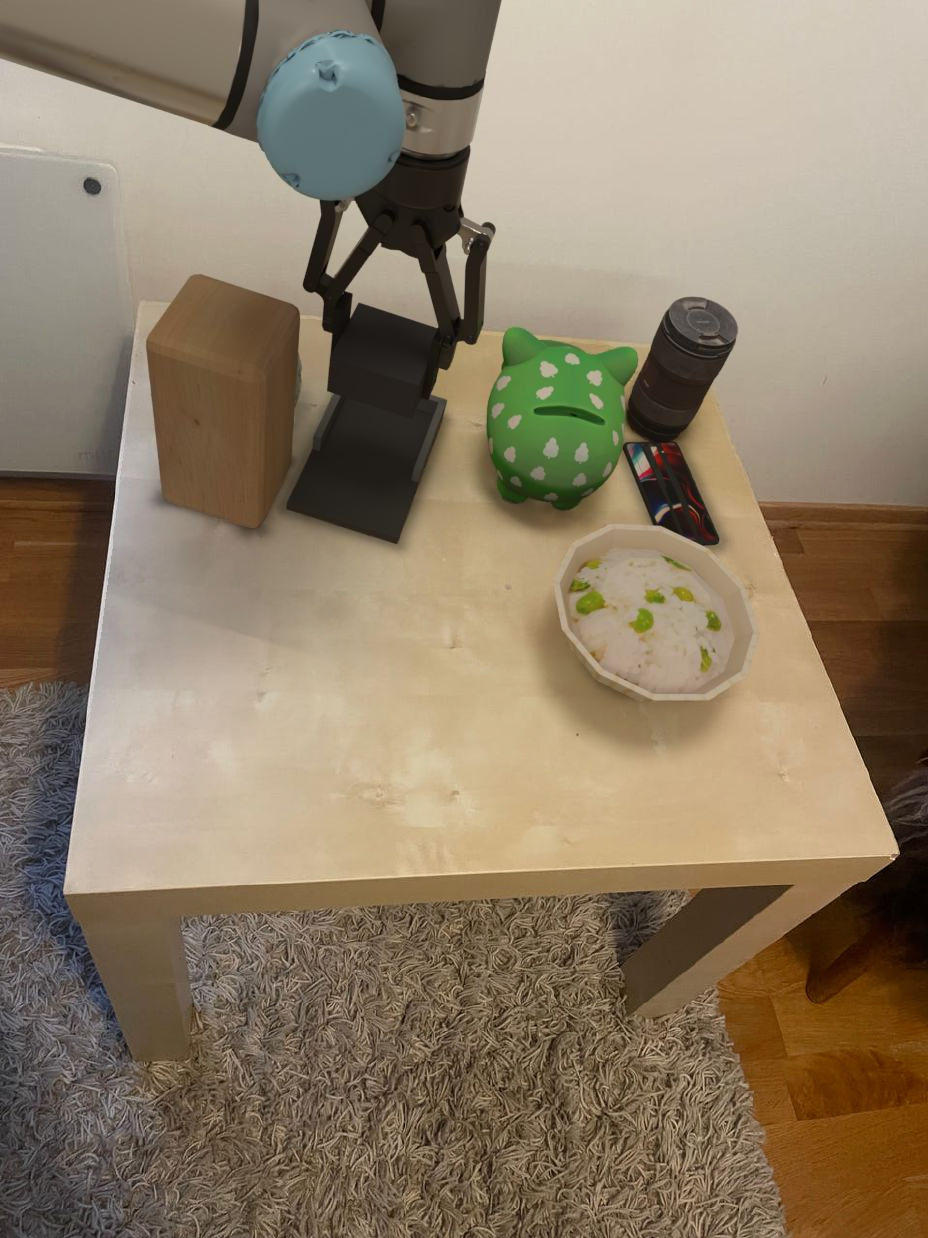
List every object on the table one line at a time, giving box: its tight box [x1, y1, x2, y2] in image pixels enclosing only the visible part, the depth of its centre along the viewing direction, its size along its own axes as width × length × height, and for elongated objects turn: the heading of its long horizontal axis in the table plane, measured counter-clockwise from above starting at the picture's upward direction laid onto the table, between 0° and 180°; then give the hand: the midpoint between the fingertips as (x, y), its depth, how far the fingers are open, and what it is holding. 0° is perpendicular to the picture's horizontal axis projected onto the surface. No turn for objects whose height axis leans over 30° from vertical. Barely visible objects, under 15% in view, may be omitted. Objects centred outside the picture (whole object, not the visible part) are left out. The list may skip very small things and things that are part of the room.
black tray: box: [286, 393, 448, 544], centre depth 96 cm, size 19×11×3 cm, turn 166°
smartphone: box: [622, 441, 720, 547], centre depth 103 cm, size 7×1×15 cm
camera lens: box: [626, 296, 739, 442], centre depth 103 cm, size 8×8×15 cm
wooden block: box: [145, 273, 301, 529], centre depth 83 cm, size 10×10×20 cm
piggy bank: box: [485, 326, 639, 511], centre depth 95 cm, size 14×18×15 cm
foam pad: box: [326, 302, 438, 419], centre depth 83 cm, size 8×8×4 cm
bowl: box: [552, 523, 761, 703], centre depth 85 cm, size 19×19×10 cm
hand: (383, 374), depth 85 cm, fingers closed on foam pad, 8 cm apart
